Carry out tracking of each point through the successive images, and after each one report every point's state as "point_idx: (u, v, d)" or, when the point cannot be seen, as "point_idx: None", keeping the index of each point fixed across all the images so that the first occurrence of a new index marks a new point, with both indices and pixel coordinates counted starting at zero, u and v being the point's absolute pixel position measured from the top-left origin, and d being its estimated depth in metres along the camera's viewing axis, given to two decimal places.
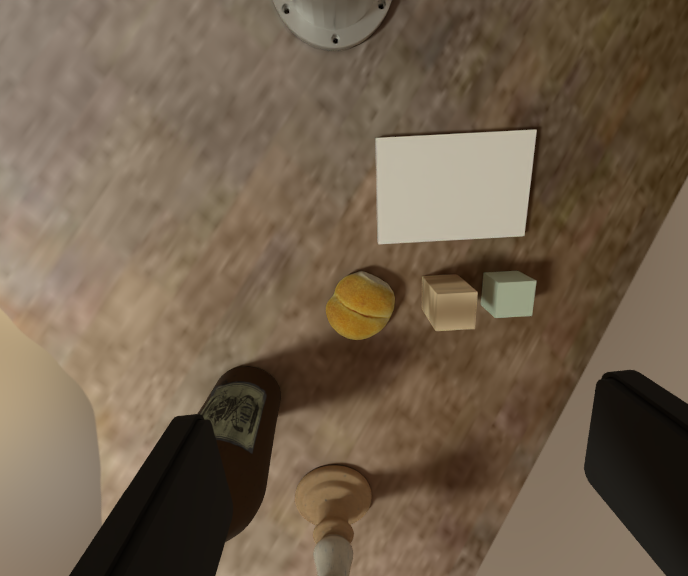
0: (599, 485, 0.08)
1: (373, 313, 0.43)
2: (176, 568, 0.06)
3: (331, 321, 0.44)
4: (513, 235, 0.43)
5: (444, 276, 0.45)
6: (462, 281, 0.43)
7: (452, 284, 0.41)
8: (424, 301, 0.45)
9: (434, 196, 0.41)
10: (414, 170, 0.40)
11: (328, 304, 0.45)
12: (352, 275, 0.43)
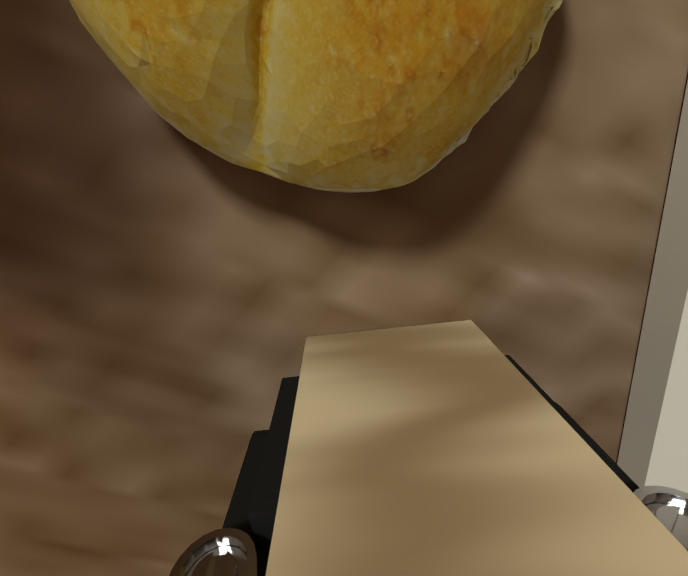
0: None
1: None
2: None
3: None
4: None
5: None
6: None
7: None
8: (366, 358, 0.08)
9: None
10: None
11: None
12: None
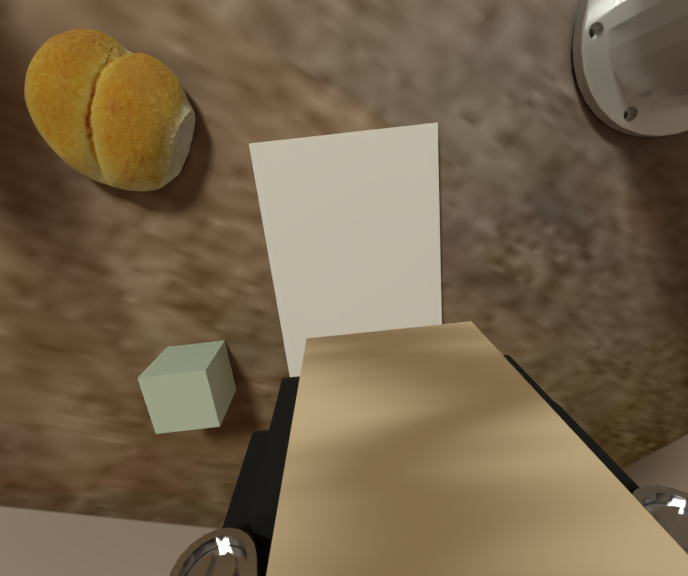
0: None
1: (98, 139, 0.20)
2: None
3: (55, 37, 0.19)
4: (291, 373, 0.27)
5: None
6: None
7: None
8: (366, 360, 0.08)
9: (343, 239, 0.24)
10: (384, 199, 0.23)
11: (101, 34, 0.20)
12: (180, 89, 0.20)
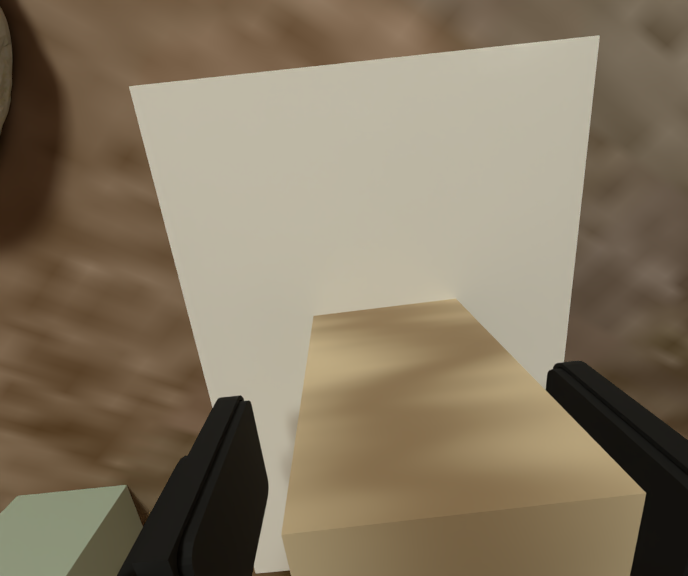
0: None
1: None
2: (231, 532, 0.07)
3: None
4: None
5: None
6: None
7: None
8: (365, 330, 0.10)
9: (358, 309, 0.11)
10: (455, 222, 0.10)
11: None
12: None
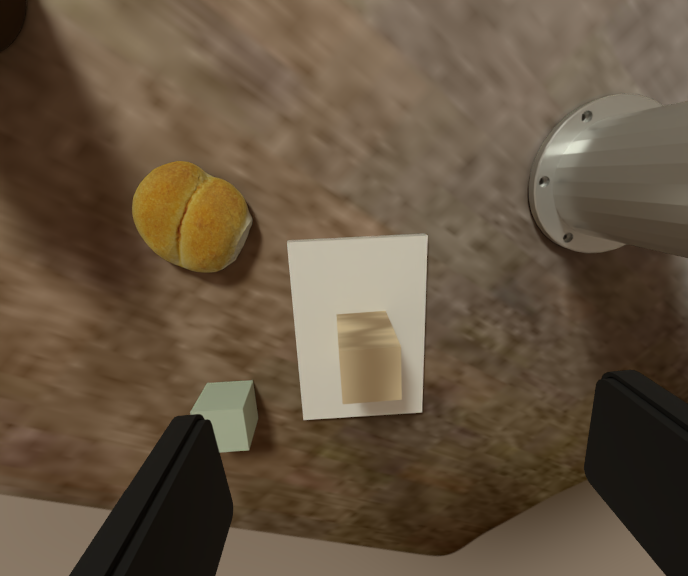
0: (599, 485, 0.08)
1: (184, 242, 0.27)
2: (176, 568, 0.06)
3: (161, 170, 0.26)
4: (303, 408, 0.35)
5: None
6: None
7: None
8: (354, 319, 0.30)
9: (352, 312, 0.32)
10: (385, 285, 0.31)
11: (191, 166, 0.27)
12: (245, 206, 0.28)
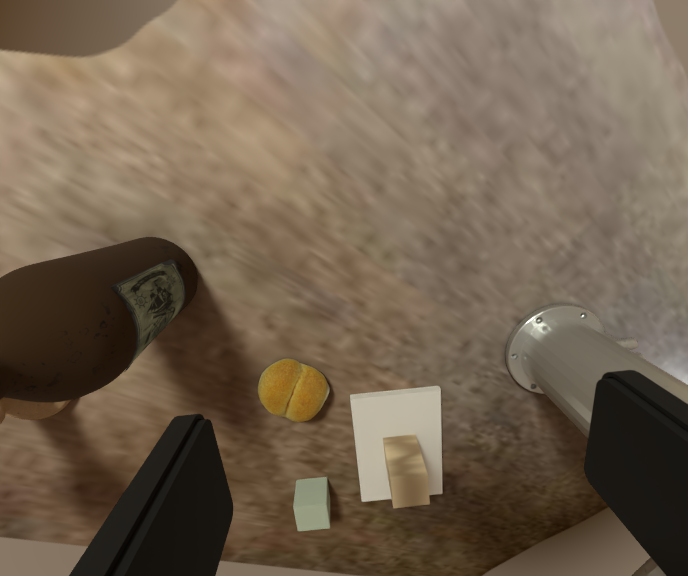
0: (599, 485, 0.08)
1: (291, 410, 0.44)
2: (176, 568, 0.06)
3: (277, 371, 0.43)
4: (362, 494, 0.51)
5: None
6: None
7: None
8: (395, 444, 0.47)
9: (393, 436, 0.48)
10: (414, 419, 0.47)
11: (293, 363, 0.44)
12: (326, 383, 0.45)
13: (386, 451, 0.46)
